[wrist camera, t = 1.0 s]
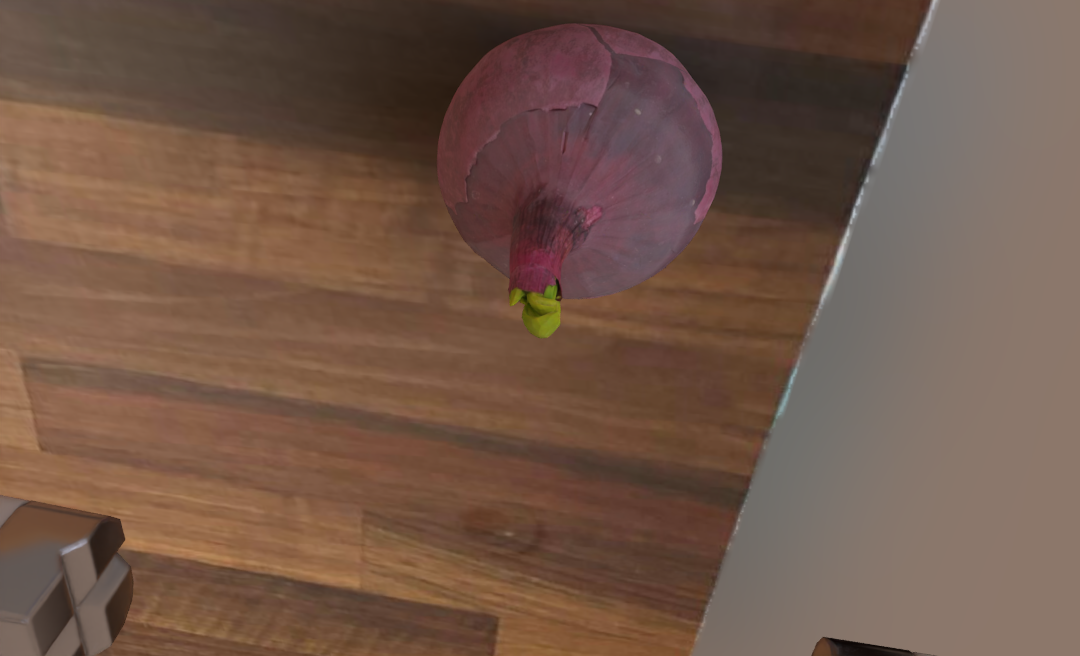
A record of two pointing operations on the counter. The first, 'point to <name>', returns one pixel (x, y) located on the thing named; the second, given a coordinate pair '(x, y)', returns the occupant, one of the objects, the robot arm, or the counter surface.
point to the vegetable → (577, 163)
